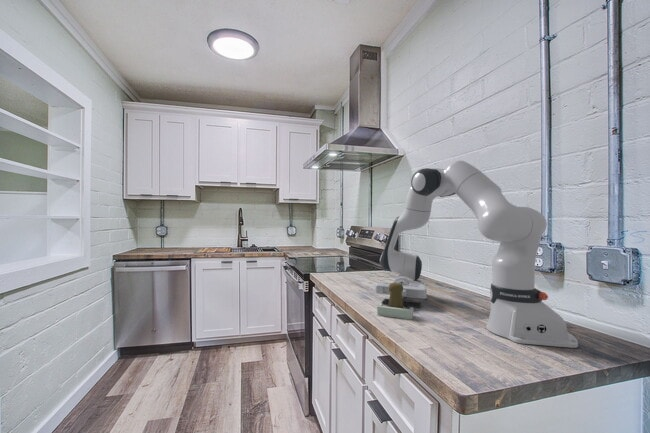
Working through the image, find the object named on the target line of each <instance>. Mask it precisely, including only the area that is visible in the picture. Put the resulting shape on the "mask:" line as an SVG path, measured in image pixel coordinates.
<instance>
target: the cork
mask: <svg viewBox="0 0 650 433" xmlns="http://www.w3.org/2000/svg"><path fill="white" fill-rule="evenodd" d="M390 283H391V284H390V285H389V291H390V295H389V298H388V299H389V305H387V307H395V308H403V309H404V307H403V301H404V300H403V298H402V291H403V286H402V284H400V283H393V282H390Z"/></svg>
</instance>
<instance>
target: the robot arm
mask: <svg viewBox="0 0 650 433" xmlns="http://www.w3.org/2000/svg"><path fill="white" fill-rule="evenodd" d="M410 182H411V183H410V184H411V186H409V189H408V191H407V193H406V194H407V195H406V198H405V202H404V207H403V208H404V209H403V211H402V213H401V215H400V216H397V217H396V218H395V219H394V221H393V223H392V225H391V228H390V231H389V234H388V237H387V241H386V243H385V245H384V249H383V251H382V253H381V255H380V258H379V265H380V267H381V268H382V269H383V270H384V271H385V272H393V273H397V274H399V275H398V276H396V277H395V279H394V280H393V281H392V282H387V281H386V282H384V281H381V282H378V283H376V284H375V286H374V289H375V294H377V295H378V294H380V295H387V296H390V291H389V285H390V284H391V283H400V284H402V286H403V291H402V299H406V298H409V299H410V298H415V299H422V300H423V299H427V296H428V295H427V286H426V285H425V281H423V280H419V279H420V276H421V274H422V268H423V263H422V259H421V258H420V256H419V255H418V254H413V253H409V252H408V253H407V252H402V251H397V250H396V249H395V247H396V244H397V241H398V238H399V235H400V234H401V233H403V232H407V231H411V230H412V231H413V230H417V229H420V228H423V227H424V226H426V225H427V223H428V222H429V219H430V216H431V212H432V206H433V201H434V199H435V198H437V197H440V198H445V197H451V196H455V195H457V197H458V198H459V199H460V200H461V201H462V202H463V203H464V204H466V206H467V207H468V208H469V209H470V210H471V211H472V212H473V214H474V216H475V218H476V219H477V227H478V230H479V233H480V234H481V235H482V236H483V237H485V238H486V239H489V240H491V241H494V242H497V243H498V242H499V243H500V244H499V246H498V249H497V252H496V253H495V255H494V256H493V258H492V265H491V266H492V268H491V269H492V271H491V274H492V276H491V277H492V279H491V281H492V282H491V284H490V287H489V290H490V291H489V294H490V295H489V296H490V297H489V298H490V302H491V304H490V311H489V315H488V321H487V323H486V325H485V328H486V329H487V330H488V331H489V332H491V333H492V334H495V335H497V336H499V337H502V338H505V339H509V340H510V341H512V342H514V343H517V344H522V345H523V344H525V345H536V346H546V347H559V348H570V349H577V348H578V347H579V341H578V339H577V338H576V337H575V336H574V335H573V334H572V333H570V332H568V326H567V323H566V321H565V320H564V318H563V317H562V316H561V315H560V314H558V313H557V312H556V311H555V310H554V309H552V308H551V307H549V305H547V304H546V303H544V302H543V301H546V300H549V295H548V293H546V292H543V291H541V290H539V289H537V288H535V278H536V277H535V276H536V275H535V272H536V271H535V270H536V260H537V254H538V251H539V246H540V243H541V238H542V235H543V234H544V233H545V231H546V229H547V219H546V217H545V216H544V215H543V214H542V212H539V211H538V210H536V209H534V208H532V207H528V206H517V205H515V204H512V203H511V202H509V200H508V199H507V198H506V197H505V195H503V193H502V189H501V187H500V186H499V185H498V184H496V183H495V182H494V181H493V180H491V178H489V177H488V176H487V175H486V174H485V173H484V172H482V171H481V170H479V169H478V168H477V167H475V166H474V165H473V164H471V163H468V162H467V161H464V160H455V161H453V162H451V163H449V165H447V167H446V168H440V167H439V168H438V167H436V168H428V167H427V168H421V169H418V170H417V171H415V172H414V173H413V174H412V178H411V181H410Z"/></svg>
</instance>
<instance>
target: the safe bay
mask: <svg viewBox="0 0 650 433" xmlns="http://www.w3.org/2000/svg"><path fill="white" fill-rule="evenodd" d="M376 308H377V311H376V315H377V316H382V317H389V318H398V319H406V320H410V321H411V320H413V317H414V308H413V307H409V309H408V308H404V307H403V308H395V307H388V305H387V306H385V305H384V304H382V302H380V303H378V305H377V307H376Z"/></svg>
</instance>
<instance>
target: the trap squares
mask: <svg viewBox="0 0 650 433" xmlns="http://www.w3.org/2000/svg"><path fill="white" fill-rule="evenodd" d="M402 301H403V308H404V307H405V308H410V307H413V309H421V306H422V302H419V301H412V300H411V301H410V300H402ZM381 303H382V304H383V305H387V306H388V305H389V298H383V300H382V301H381Z"/></svg>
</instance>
